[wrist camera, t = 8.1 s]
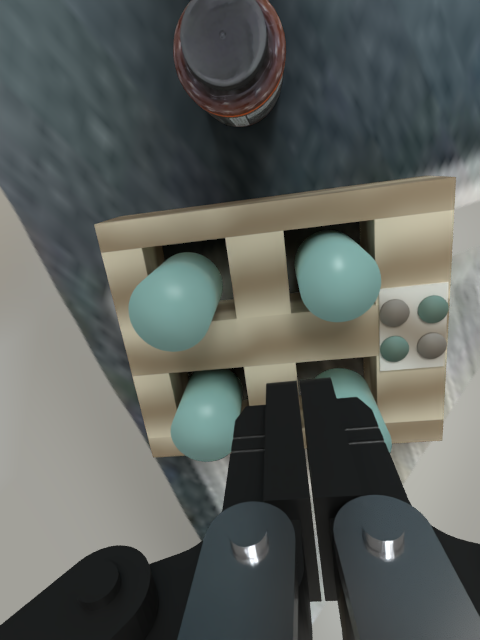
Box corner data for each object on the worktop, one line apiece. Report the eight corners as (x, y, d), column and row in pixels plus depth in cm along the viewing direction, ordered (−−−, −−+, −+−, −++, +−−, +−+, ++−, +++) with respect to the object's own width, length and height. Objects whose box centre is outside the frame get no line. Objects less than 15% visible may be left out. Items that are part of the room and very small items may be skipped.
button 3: (304, 370, 30) (311, 416, 25) (369, 365, 30) (391, 411, 24) (308, 424, 32) (316, 478, 26) (370, 420, 31) (391, 474, 26)
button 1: (182, 368, 34) (164, 408, 28) (239, 363, 33) (232, 403, 27) (192, 416, 35) (177, 463, 30) (246, 412, 35) (241, 459, 29)
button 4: (291, 234, 29) (296, 249, 23) (359, 225, 28) (380, 239, 23) (297, 296, 31) (302, 325, 25) (361, 290, 30) (381, 318, 24)
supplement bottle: (182, 68, 28) (130, 11, 18) (253, 12, 27) (241, -87, 16) (228, 145, 30) (204, 133, 20) (297, 96, 29) (312, 55, 18)
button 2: (150, 256, 28) (119, 278, 22) (217, 248, 28) (203, 268, 22) (163, 319, 30) (138, 354, 24) (227, 313, 29) (216, 347, 24)
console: (119, 216, 33) (91, 225, 27) (427, 175, 30) (458, 177, 25) (167, 423, 39) (151, 460, 34) (420, 405, 37) (444, 443, 32)
